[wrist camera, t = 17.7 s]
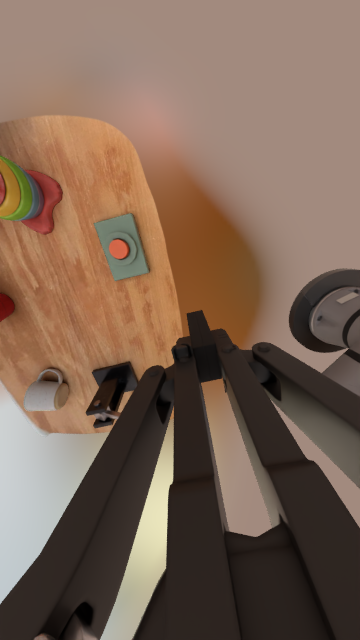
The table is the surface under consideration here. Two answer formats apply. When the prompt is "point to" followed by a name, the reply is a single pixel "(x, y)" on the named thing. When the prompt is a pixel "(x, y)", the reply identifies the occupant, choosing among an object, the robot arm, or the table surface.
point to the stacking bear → (27, 196)
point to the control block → (127, 232)
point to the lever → (107, 415)
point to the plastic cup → (5, 306)
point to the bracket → (111, 390)
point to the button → (119, 249)
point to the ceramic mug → (46, 394)
